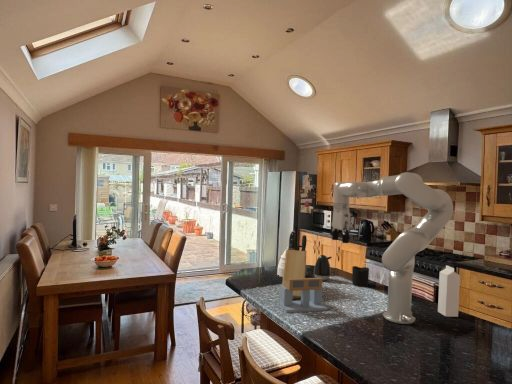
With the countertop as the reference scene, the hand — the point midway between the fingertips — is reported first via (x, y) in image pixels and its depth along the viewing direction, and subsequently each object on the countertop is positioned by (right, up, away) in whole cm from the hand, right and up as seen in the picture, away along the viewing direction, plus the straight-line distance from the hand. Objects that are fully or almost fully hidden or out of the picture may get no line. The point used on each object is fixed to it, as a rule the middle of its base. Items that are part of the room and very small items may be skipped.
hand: (340, 241), depth 166 cm
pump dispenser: (-1, -29, +38) cm, 48 cm away
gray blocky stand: (-20, -29, -10) cm, 37 cm away
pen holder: (+19, -30, +30) cm, 47 cm away
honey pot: (-22, -29, +47) cm, 59 cm away
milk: (+46, -32, -12) cm, 58 cm away
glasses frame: (-20, -20, -9) cm, 30 cm away
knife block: (-21, -29, +14) cm, 39 cm away
